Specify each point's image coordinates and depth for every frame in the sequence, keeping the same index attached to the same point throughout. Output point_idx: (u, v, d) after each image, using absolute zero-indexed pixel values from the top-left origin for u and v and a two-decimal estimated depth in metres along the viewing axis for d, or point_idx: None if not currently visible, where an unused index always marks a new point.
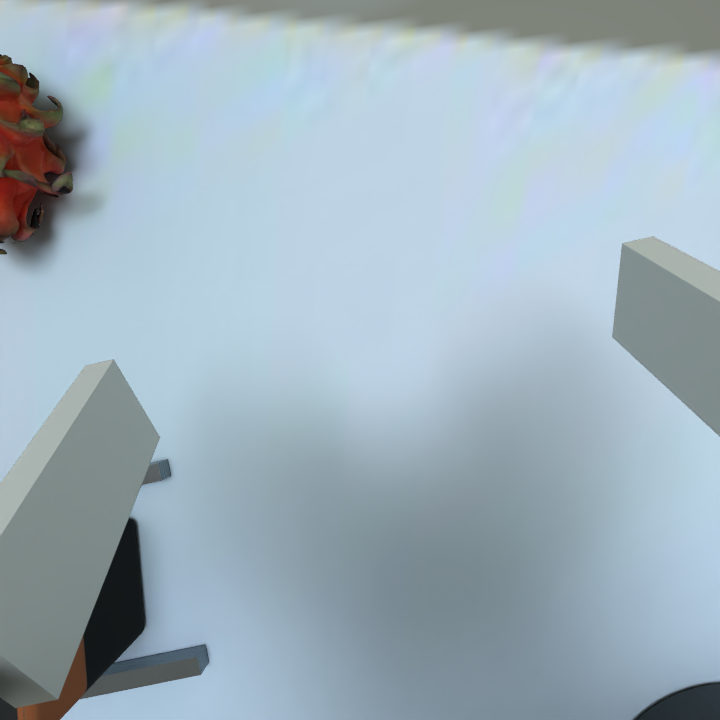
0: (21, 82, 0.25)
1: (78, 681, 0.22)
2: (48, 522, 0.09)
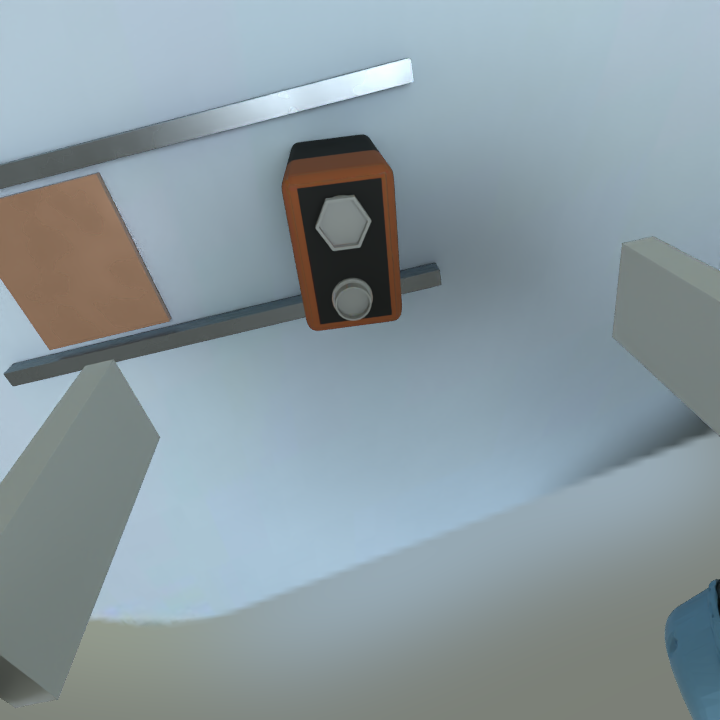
0: None
1: None
2: (48, 522, 0.09)
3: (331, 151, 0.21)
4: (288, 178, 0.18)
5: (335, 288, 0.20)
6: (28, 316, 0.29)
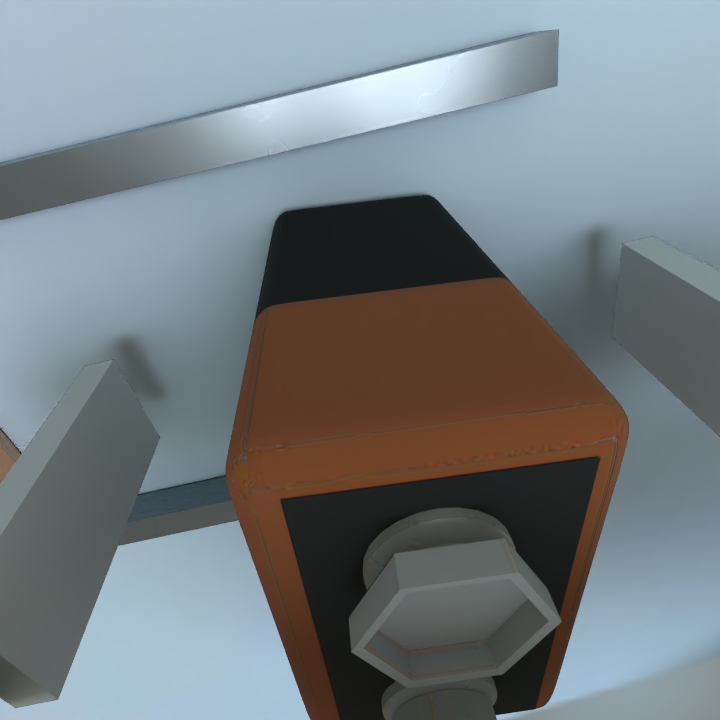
0: None
1: None
2: (48, 522, 0.09)
3: (375, 267, 0.08)
4: (248, 458, 0.05)
5: (393, 685, 0.07)
6: None
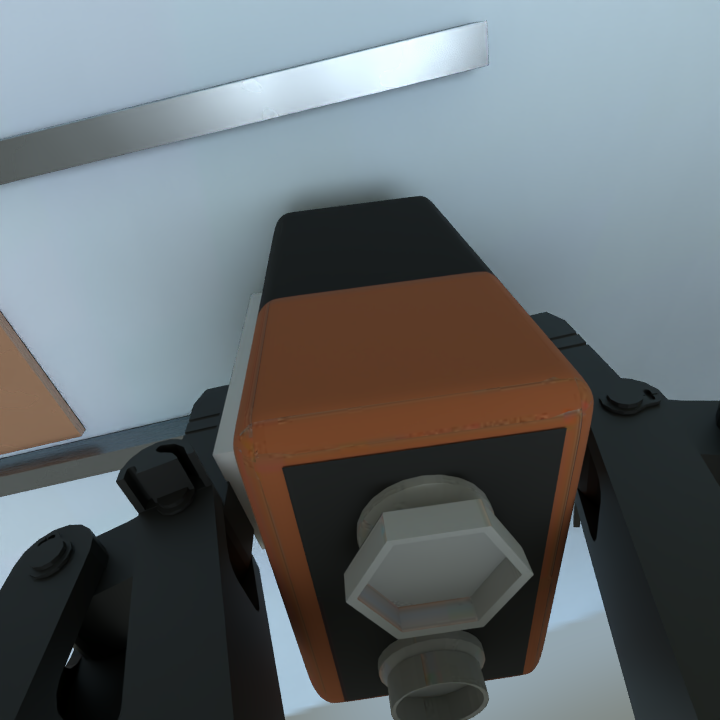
0: None
1: None
2: None
3: (369, 263, 0.09)
4: (253, 431, 0.05)
5: (388, 648, 0.08)
6: None
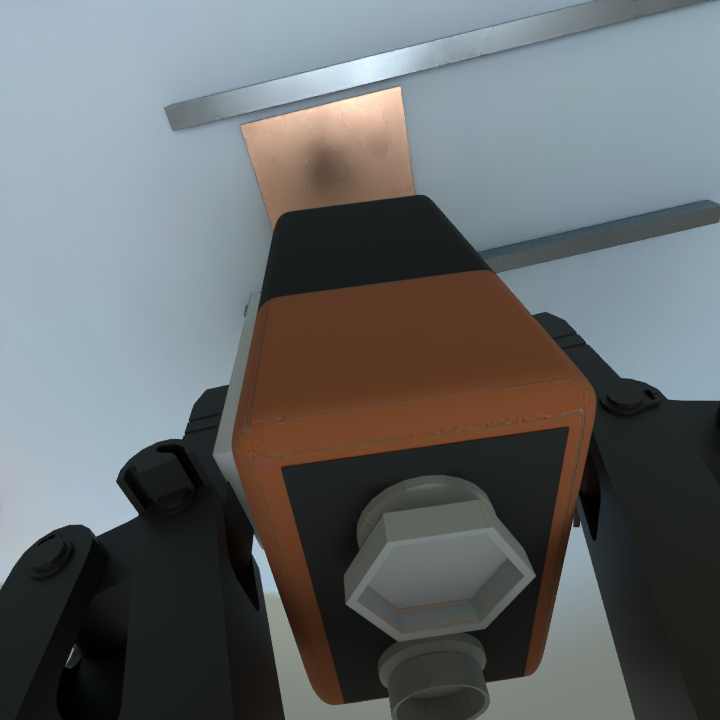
0: None
1: None
2: None
3: (369, 262, 0.09)
4: (251, 431, 0.05)
5: (389, 649, 0.07)
6: None
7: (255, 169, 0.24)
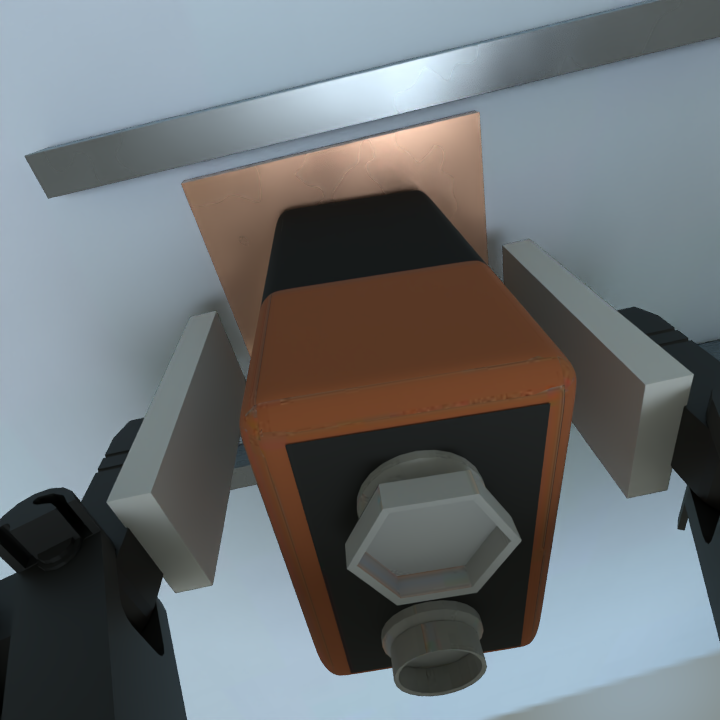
0: None
1: None
2: (194, 437, 0.10)
3: (367, 255, 0.09)
4: (257, 412, 0.06)
5: (391, 620, 0.08)
6: None
7: (213, 257, 0.14)
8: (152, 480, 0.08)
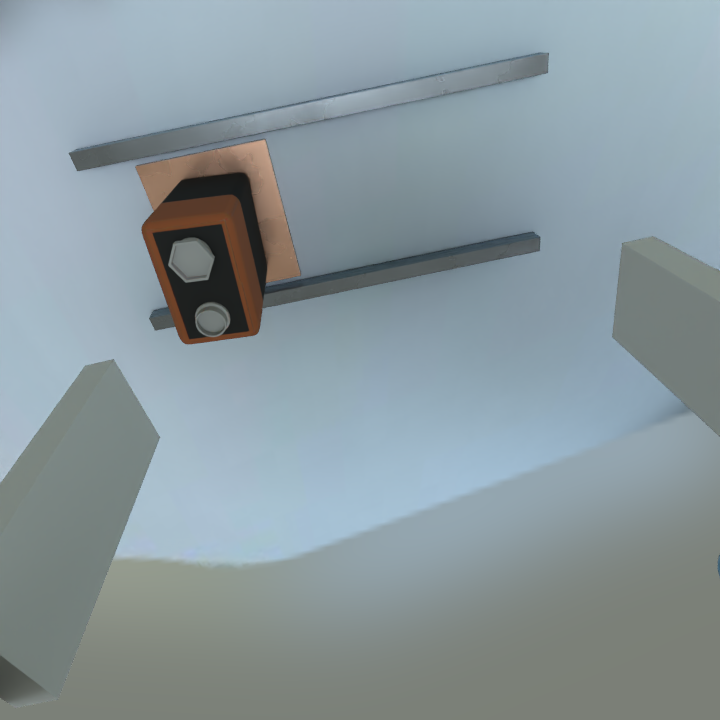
0: None
1: (260, 297, 0.27)
2: (48, 522, 0.09)
3: (198, 193, 0.25)
4: (145, 224, 0.22)
5: (197, 310, 0.24)
6: None
7: (151, 201, 0.30)
8: None
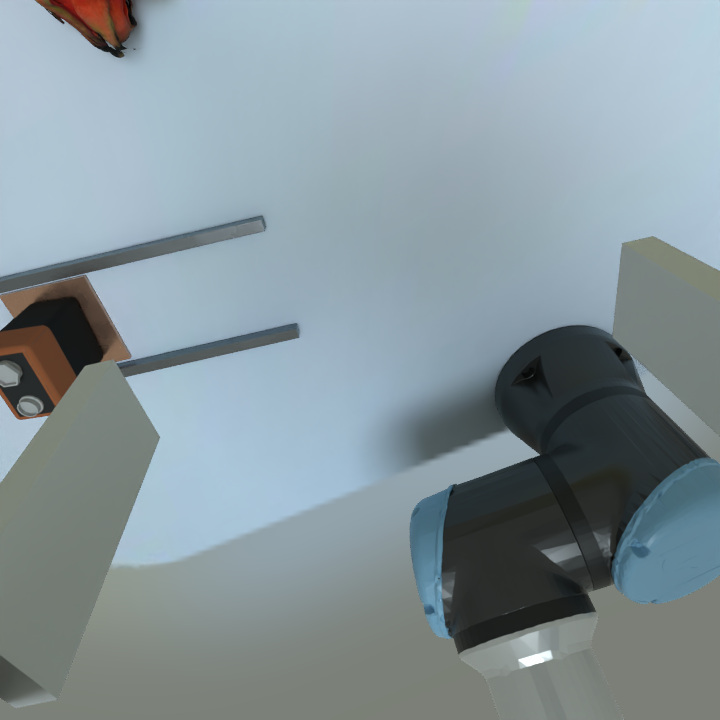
0: None
1: None
2: (48, 522, 0.09)
3: (26, 322, 0.39)
4: None
5: (20, 400, 0.38)
6: None
7: (13, 316, 0.44)
8: None
